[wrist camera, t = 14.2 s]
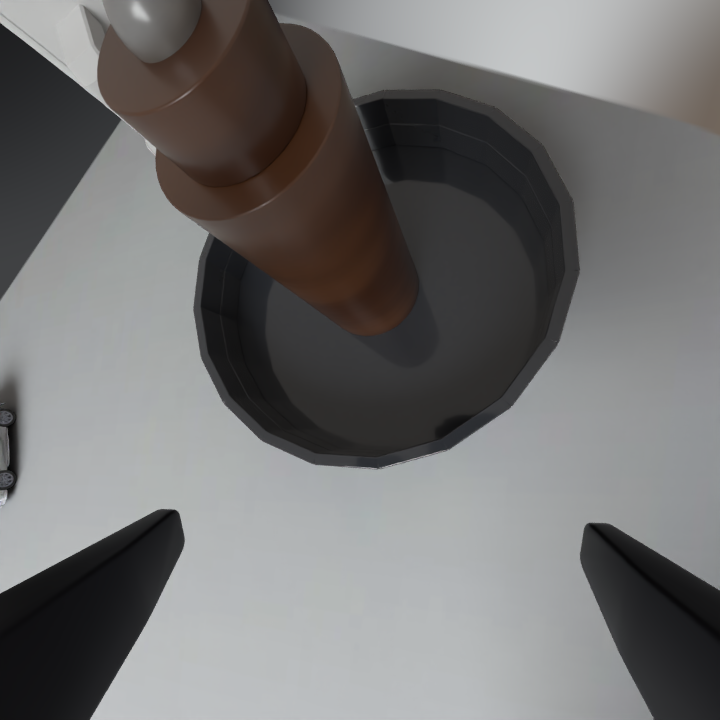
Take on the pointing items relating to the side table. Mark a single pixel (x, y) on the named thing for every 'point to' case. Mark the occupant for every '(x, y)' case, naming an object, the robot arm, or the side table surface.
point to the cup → (63, 36)
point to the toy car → (5, 454)
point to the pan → (433, 304)
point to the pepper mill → (262, 149)
